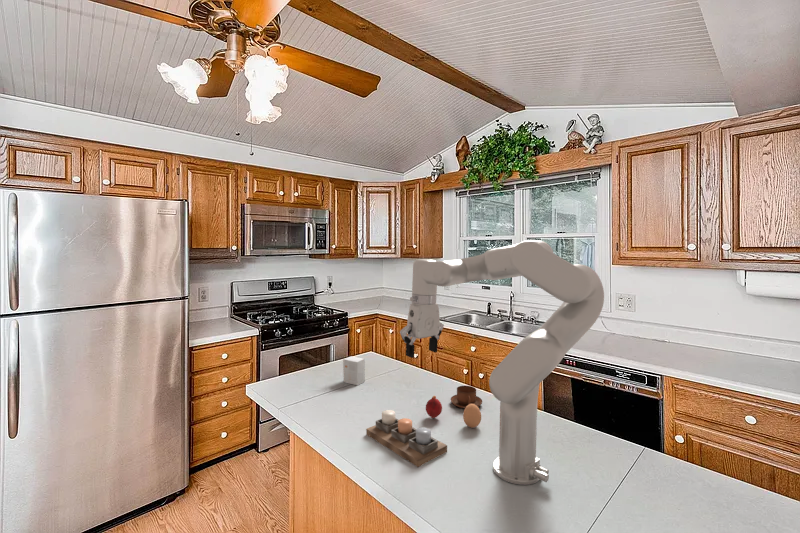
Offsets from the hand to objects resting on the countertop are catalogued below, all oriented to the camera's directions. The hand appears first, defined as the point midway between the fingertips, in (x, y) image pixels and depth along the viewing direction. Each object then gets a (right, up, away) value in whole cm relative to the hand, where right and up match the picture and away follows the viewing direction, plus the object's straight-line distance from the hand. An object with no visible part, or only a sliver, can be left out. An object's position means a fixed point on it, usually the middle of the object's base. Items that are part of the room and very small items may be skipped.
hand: (421, 353), depth 120 cm
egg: (+18, -27, +10) cm, 34 cm away
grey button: (0, -24, -7) cm, 25 cm away
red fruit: (+5, -27, +17) cm, 32 cm away
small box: (-27, -25, +52) cm, 64 cm away
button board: (-5, -28, 0) cm, 28 cm away
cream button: (-10, -23, +6) cm, 26 cm away
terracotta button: (-5, -24, 0) cm, 24 cm away
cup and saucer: (+19, -26, +29) cm, 43 cm away
